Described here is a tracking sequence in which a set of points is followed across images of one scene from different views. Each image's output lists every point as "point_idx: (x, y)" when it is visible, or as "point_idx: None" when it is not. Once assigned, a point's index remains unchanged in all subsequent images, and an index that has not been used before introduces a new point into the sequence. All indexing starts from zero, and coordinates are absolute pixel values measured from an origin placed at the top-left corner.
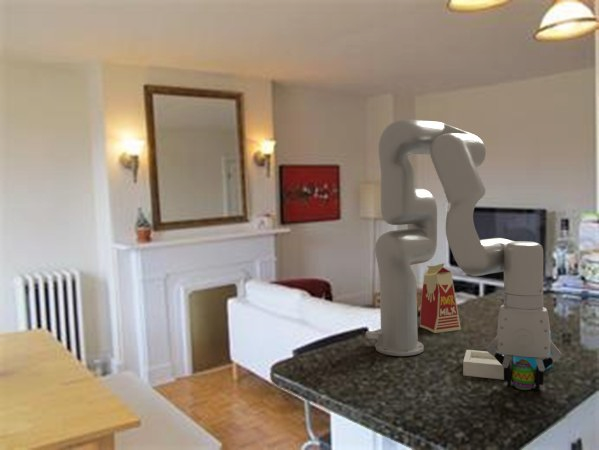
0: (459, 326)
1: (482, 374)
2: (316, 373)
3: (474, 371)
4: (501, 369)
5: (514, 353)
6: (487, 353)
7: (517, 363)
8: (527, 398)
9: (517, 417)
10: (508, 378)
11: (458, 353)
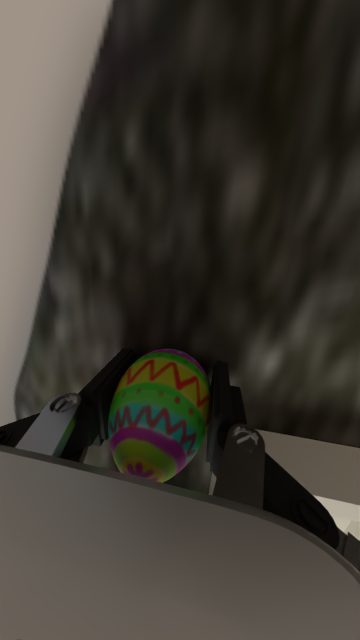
0: None
1: (303, 447)
2: None
3: (339, 461)
4: None
5: (181, 526)
6: None
7: (174, 447)
8: (165, 281)
9: (225, 6)
10: (224, 379)
11: None
